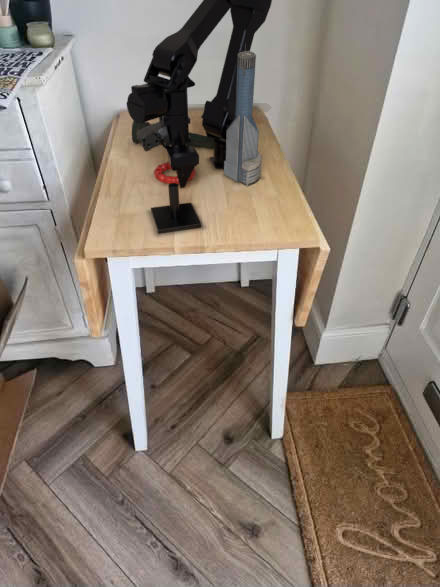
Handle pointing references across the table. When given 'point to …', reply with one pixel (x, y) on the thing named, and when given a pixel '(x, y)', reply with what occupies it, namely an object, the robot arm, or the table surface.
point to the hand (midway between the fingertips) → (178, 178)
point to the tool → (195, 141)
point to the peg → (175, 214)
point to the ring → (168, 179)
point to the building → (243, 127)
